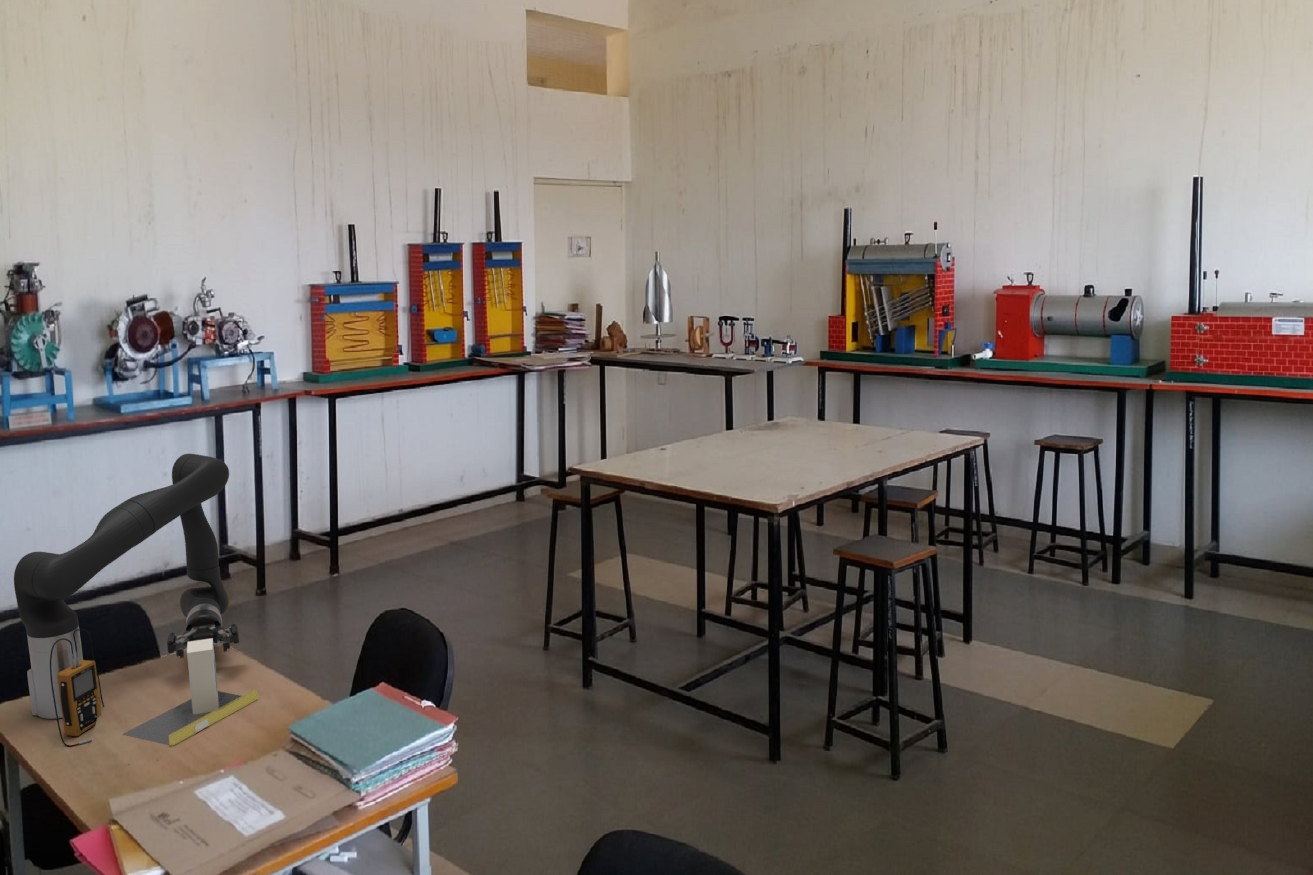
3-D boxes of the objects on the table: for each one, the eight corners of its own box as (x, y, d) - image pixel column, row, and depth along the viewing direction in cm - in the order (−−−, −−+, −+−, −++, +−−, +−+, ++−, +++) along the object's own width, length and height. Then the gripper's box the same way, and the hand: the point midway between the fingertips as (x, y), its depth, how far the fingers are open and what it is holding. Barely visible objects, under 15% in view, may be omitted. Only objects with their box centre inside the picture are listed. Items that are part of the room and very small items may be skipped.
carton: (193, 714, 213) (186, 653, 211) (193, 701, 219) (187, 641, 217) (219, 710, 215) (213, 649, 213) (218, 697, 221) (213, 638, 219)
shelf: (122, 741, 206) (120, 724, 205) (210, 696, 225) (208, 680, 225) (174, 753, 201) (172, 736, 200) (259, 706, 220) (257, 690, 220)
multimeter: (96, 750, 202) (84, 650, 199) (50, 745, 204) (37, 646, 201) (147, 716, 217) (136, 622, 213) (103, 712, 219) (92, 619, 215)
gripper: (167, 613, 237) (164, 639, 223) (236, 604, 243) (237, 628, 228) (171, 645, 239) (168, 672, 224) (239, 635, 244) (241, 661, 229)
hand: (203, 650), depth 226 cm, fingers open, 8 cm apart
